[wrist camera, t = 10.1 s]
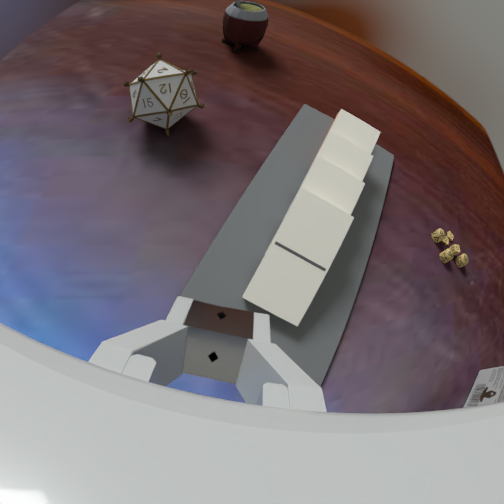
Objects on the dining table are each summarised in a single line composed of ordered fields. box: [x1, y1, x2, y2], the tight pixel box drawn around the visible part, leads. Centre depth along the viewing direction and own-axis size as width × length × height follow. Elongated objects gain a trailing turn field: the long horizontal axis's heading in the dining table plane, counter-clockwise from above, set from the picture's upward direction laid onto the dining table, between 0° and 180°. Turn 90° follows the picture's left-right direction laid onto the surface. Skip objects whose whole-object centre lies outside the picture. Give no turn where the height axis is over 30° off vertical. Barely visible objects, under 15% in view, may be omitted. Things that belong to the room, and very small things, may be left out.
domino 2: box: [283, 131, 373, 219], centre depth 28 cm, size 2×5×10 cm
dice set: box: [432, 228, 469, 268], centre depth 32 cm, size 5×5×2 cm
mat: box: [180, 104, 394, 386], centre depth 30 cm, size 32×14×1 cm, turn 153°
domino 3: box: [265, 156, 365, 254], centre depth 26 cm, size 2×5×10 cm
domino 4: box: [242, 188, 354, 327], centre depth 24 cm, size 2×5×10 cm
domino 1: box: [300, 109, 380, 187], centre depth 30 cm, size 2×5×10 cm
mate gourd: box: [222, 0, 268, 53], centre depth 34 cm, size 8×8×15 cm
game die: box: [123, 52, 206, 136], centre depth 28 cm, size 9×8×10 cm
